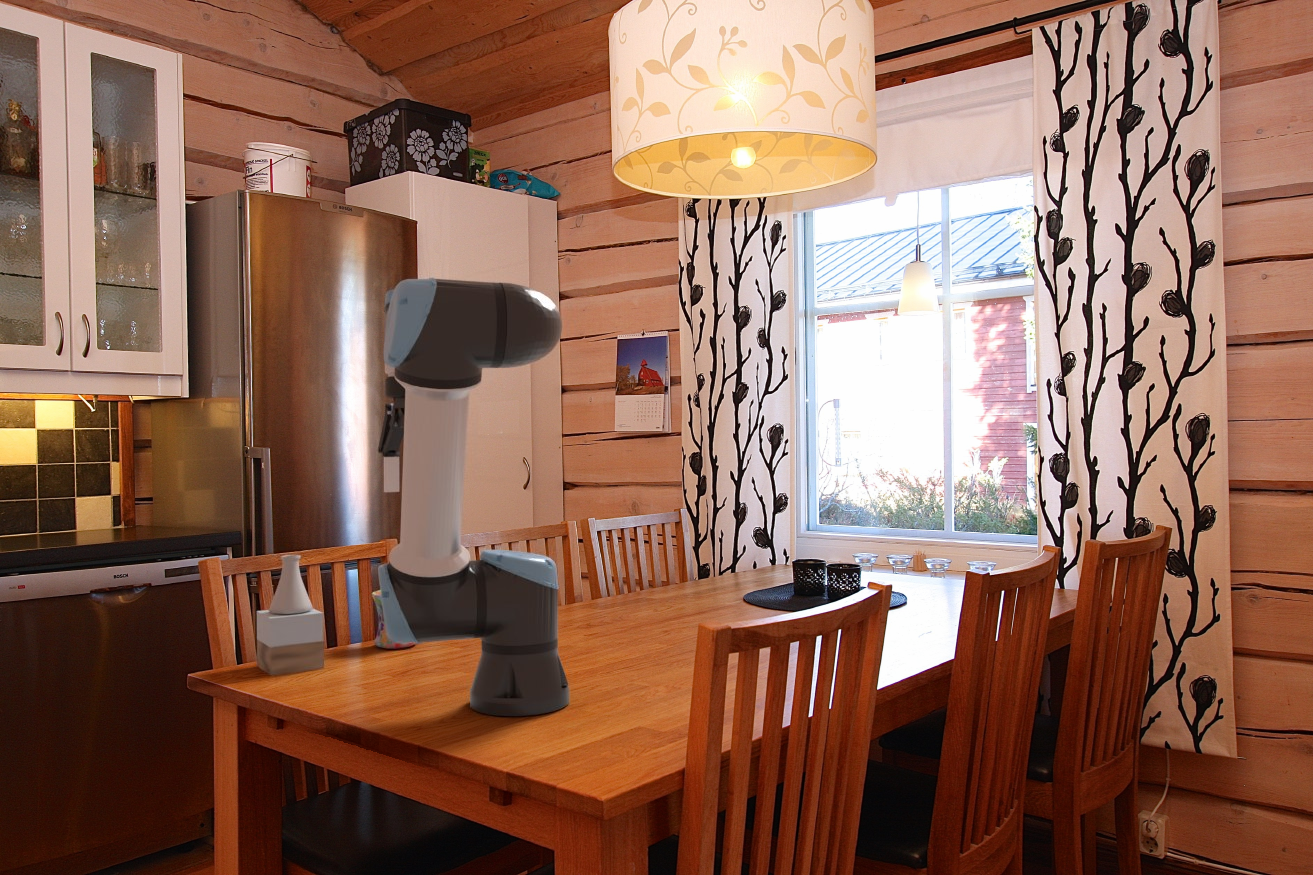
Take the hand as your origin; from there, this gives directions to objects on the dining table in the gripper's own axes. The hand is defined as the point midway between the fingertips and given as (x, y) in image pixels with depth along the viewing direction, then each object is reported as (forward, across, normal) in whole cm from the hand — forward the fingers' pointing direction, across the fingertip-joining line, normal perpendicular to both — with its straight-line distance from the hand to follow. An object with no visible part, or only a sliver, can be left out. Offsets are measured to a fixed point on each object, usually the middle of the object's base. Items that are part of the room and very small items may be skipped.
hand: (407, 493), depth 177 cm
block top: (+26, +11, +17) cm, 33 cm away
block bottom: (+31, +11, +17) cm, 37 cm away
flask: (+21, +11, +17) cm, 29 cm away
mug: (+31, +16, -6) cm, 35 cm away
